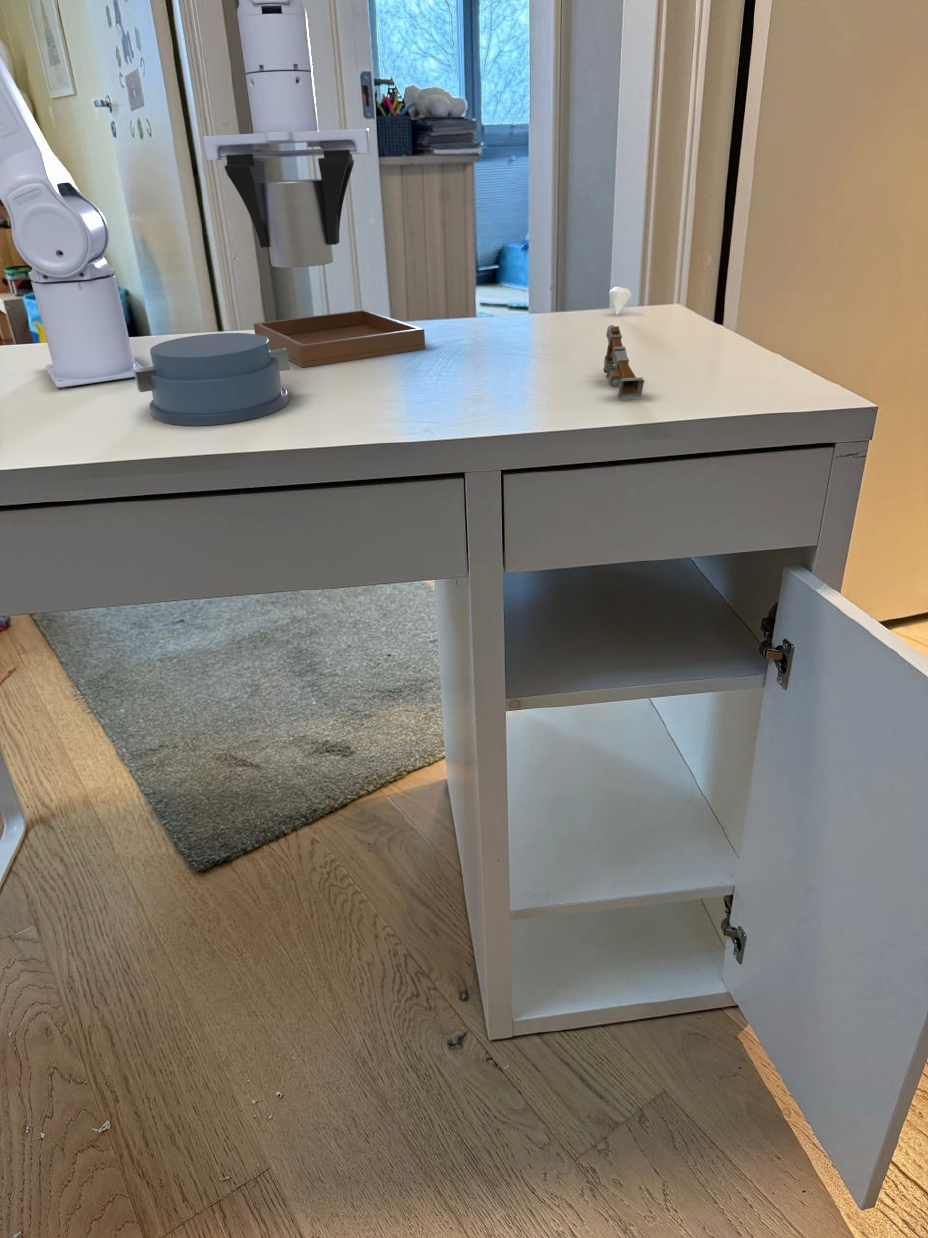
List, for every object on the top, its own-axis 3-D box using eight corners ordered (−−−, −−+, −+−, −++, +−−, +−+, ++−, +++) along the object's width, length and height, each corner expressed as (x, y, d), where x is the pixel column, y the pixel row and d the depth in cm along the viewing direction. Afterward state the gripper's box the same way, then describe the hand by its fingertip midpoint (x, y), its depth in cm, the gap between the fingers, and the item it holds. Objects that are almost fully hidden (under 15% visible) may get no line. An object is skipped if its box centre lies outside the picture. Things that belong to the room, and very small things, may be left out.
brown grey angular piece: (615, 362, 75) (623, 317, 71) (635, 423, 70) (645, 377, 66) (594, 364, 75) (601, 318, 71) (613, 424, 70) (622, 378, 66)
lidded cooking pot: (132, 404, 72) (118, 343, 70) (271, 382, 77) (263, 324, 75) (159, 435, 64) (144, 367, 62) (313, 409, 69) (306, 345, 66)
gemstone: (609, 314, 102) (615, 288, 101) (631, 318, 101) (637, 291, 100) (601, 311, 100) (607, 284, 99) (623, 314, 98) (629, 287, 98)
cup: (263, 263, 82) (252, 181, 79) (320, 257, 85) (312, 178, 81) (282, 269, 78) (271, 182, 74) (342, 263, 80) (333, 178, 77)
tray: (256, 342, 94) (253, 323, 93) (367, 327, 99) (365, 309, 98) (302, 367, 82) (299, 346, 81) (425, 349, 88) (424, 328, 87)
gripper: (181, 74, 71) (211, 252, 77) (356, 66, 70) (371, 246, 77) (206, 80, 77) (232, 244, 83) (367, 72, 76) (380, 238, 83)
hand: (299, 245), depth 80 cm, fingers closed on cup, 6 cm apart
